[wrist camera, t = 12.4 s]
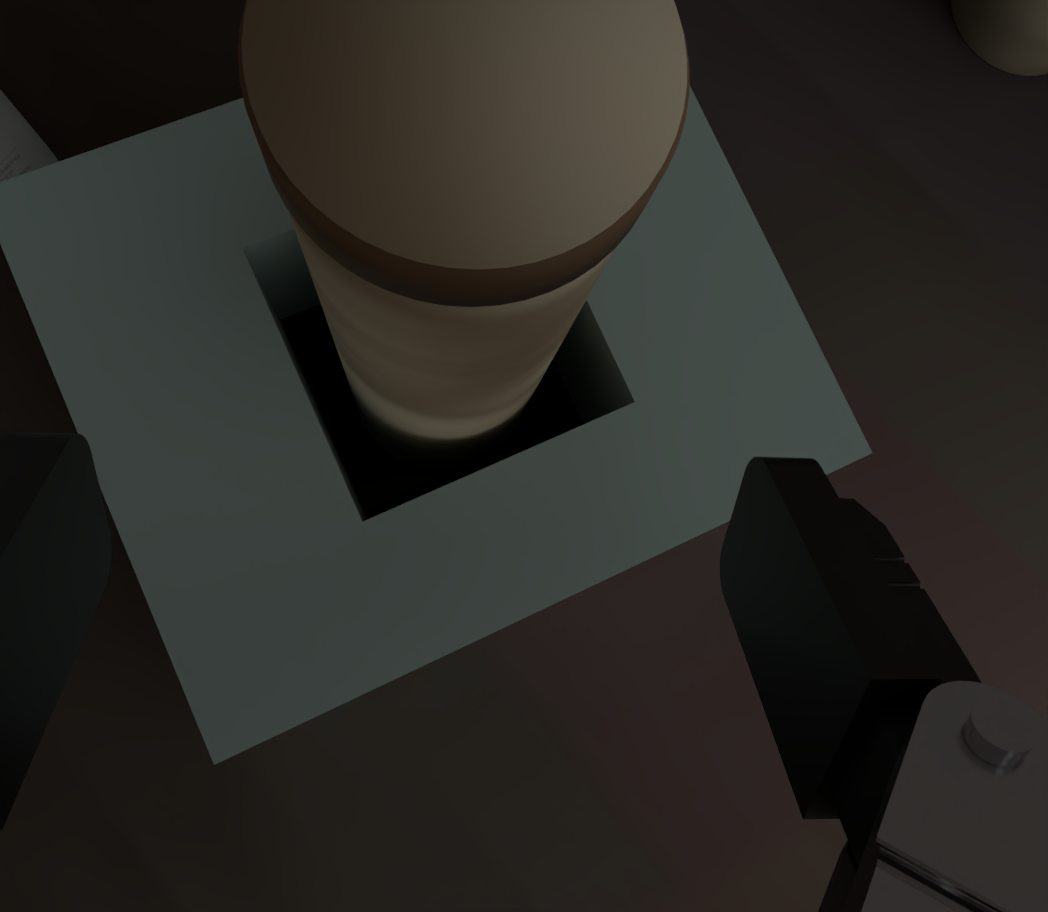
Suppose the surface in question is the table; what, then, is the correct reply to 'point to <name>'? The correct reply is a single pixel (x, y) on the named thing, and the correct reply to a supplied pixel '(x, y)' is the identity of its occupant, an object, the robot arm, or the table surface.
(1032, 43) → the short pin
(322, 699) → the socket block
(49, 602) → the robot arm
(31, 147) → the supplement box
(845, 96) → the table surface
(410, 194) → the tall pin
